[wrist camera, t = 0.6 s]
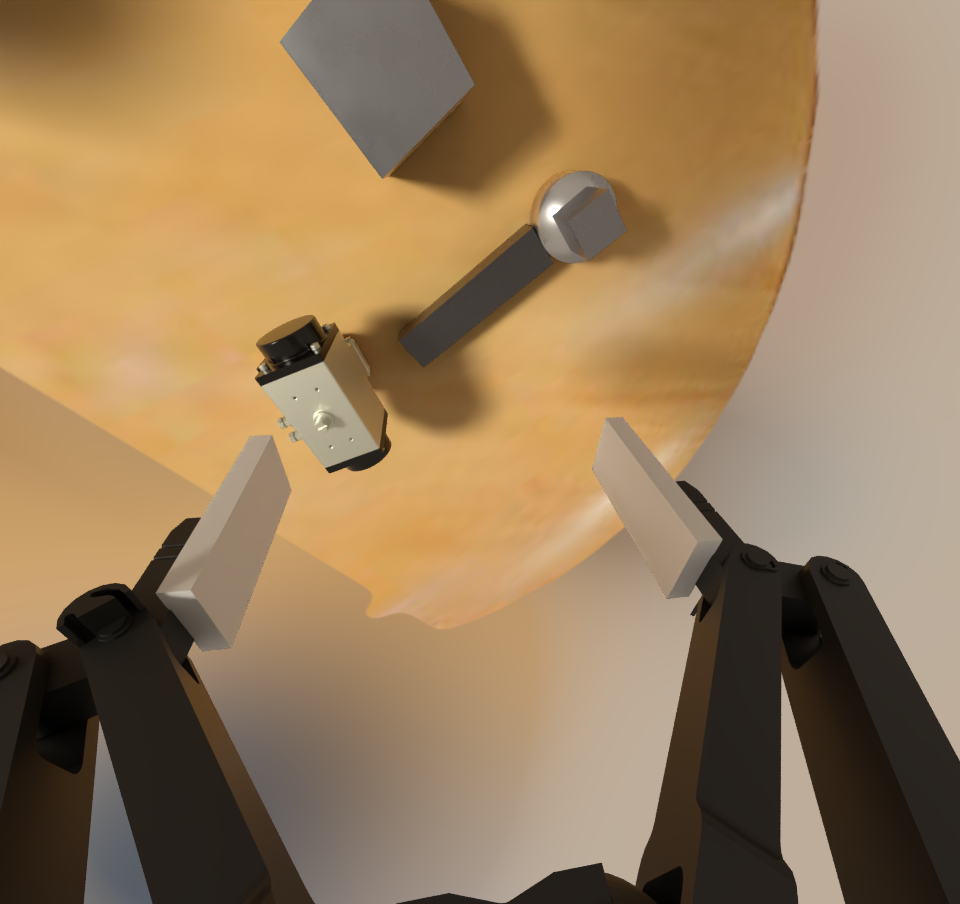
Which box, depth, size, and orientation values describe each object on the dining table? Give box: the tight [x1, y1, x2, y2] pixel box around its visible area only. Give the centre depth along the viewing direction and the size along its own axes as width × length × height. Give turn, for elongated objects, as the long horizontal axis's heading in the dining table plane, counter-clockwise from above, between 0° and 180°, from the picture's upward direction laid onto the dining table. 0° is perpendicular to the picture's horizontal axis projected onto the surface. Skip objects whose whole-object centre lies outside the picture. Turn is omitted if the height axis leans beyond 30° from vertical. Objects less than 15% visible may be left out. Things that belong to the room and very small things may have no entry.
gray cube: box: [280, 0, 475, 179], centre depth 23 cm, size 7×7×7 cm
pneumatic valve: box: [255, 315, 391, 473], centre depth 32 cm, size 6×12×12 cm, turn 19°
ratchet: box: [399, 171, 627, 368], centre depth 31 cm, size 6×20×7 cm, turn 127°
